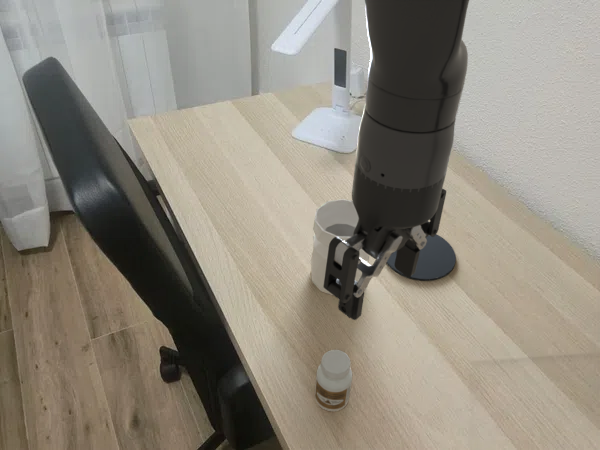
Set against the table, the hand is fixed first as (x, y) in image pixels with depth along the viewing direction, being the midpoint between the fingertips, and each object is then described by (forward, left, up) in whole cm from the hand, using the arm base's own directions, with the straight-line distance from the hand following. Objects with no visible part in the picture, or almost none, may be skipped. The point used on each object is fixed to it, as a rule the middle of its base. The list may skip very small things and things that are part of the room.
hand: (378, 291), depth 56 cm
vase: (-1, -22, -21) cm, 31 cm away
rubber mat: (-15, -26, -21) cm, 37 cm away
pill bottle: (+3, -1, -21) cm, 21 cm away
